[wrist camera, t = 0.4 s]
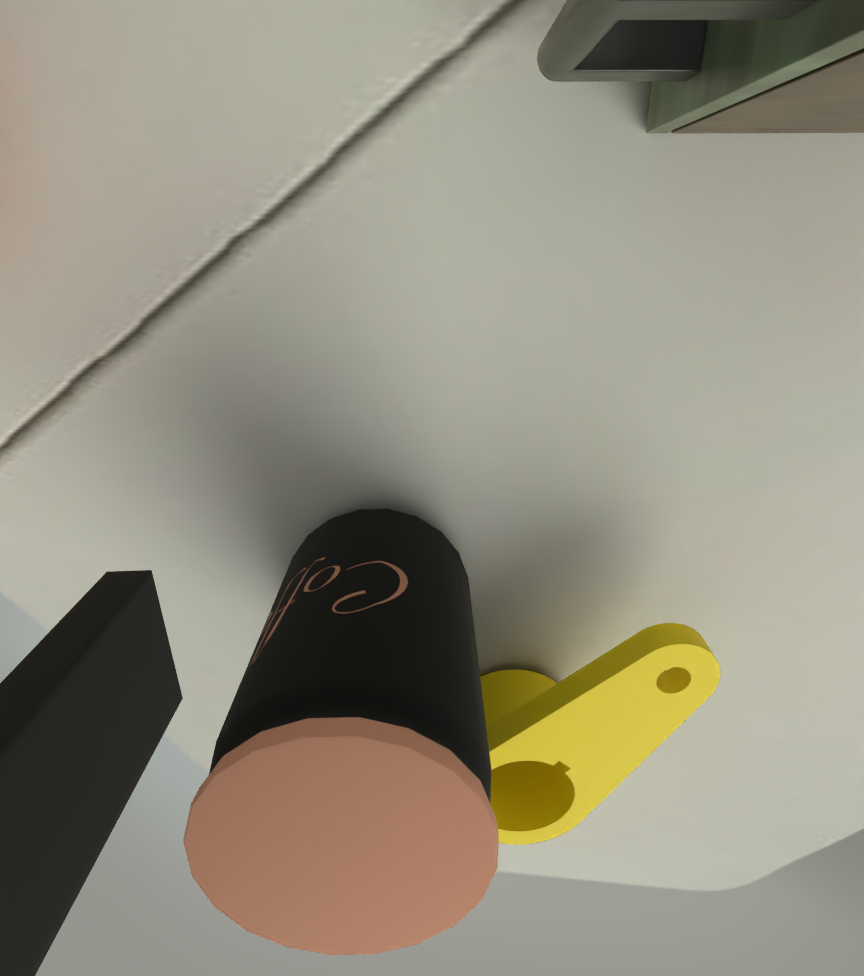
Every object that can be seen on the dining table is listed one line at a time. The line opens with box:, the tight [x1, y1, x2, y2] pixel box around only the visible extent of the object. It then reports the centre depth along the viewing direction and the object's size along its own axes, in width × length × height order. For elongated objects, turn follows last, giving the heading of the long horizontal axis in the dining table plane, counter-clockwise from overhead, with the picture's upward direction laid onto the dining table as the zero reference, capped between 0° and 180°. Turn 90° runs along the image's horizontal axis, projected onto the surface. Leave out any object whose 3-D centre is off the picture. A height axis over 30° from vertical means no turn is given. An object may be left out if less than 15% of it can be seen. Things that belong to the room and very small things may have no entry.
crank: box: [480, 623, 720, 845], centre depth 37 cm, size 18×8×6 cm, turn 140°
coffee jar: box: [184, 509, 499, 955], centre depth 29 cm, size 11×11×18 cm
